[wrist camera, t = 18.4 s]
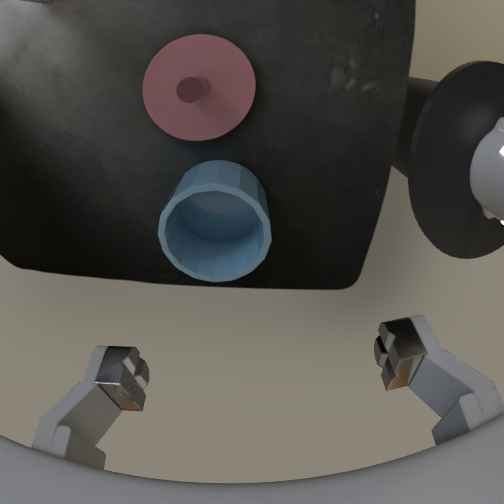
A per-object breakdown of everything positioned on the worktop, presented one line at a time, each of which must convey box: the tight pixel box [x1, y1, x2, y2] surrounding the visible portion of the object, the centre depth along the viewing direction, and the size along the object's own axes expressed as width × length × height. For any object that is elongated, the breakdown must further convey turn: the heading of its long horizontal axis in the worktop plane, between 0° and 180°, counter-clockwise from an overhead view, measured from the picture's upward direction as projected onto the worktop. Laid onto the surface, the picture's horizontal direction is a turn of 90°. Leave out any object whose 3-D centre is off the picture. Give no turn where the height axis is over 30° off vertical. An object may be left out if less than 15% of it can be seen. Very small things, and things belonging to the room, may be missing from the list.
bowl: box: [158, 160, 272, 282], centre depth 37 cm, size 13×13×8 cm
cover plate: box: [143, 34, 256, 141], centre depth 29 cm, size 13×13×6 cm
